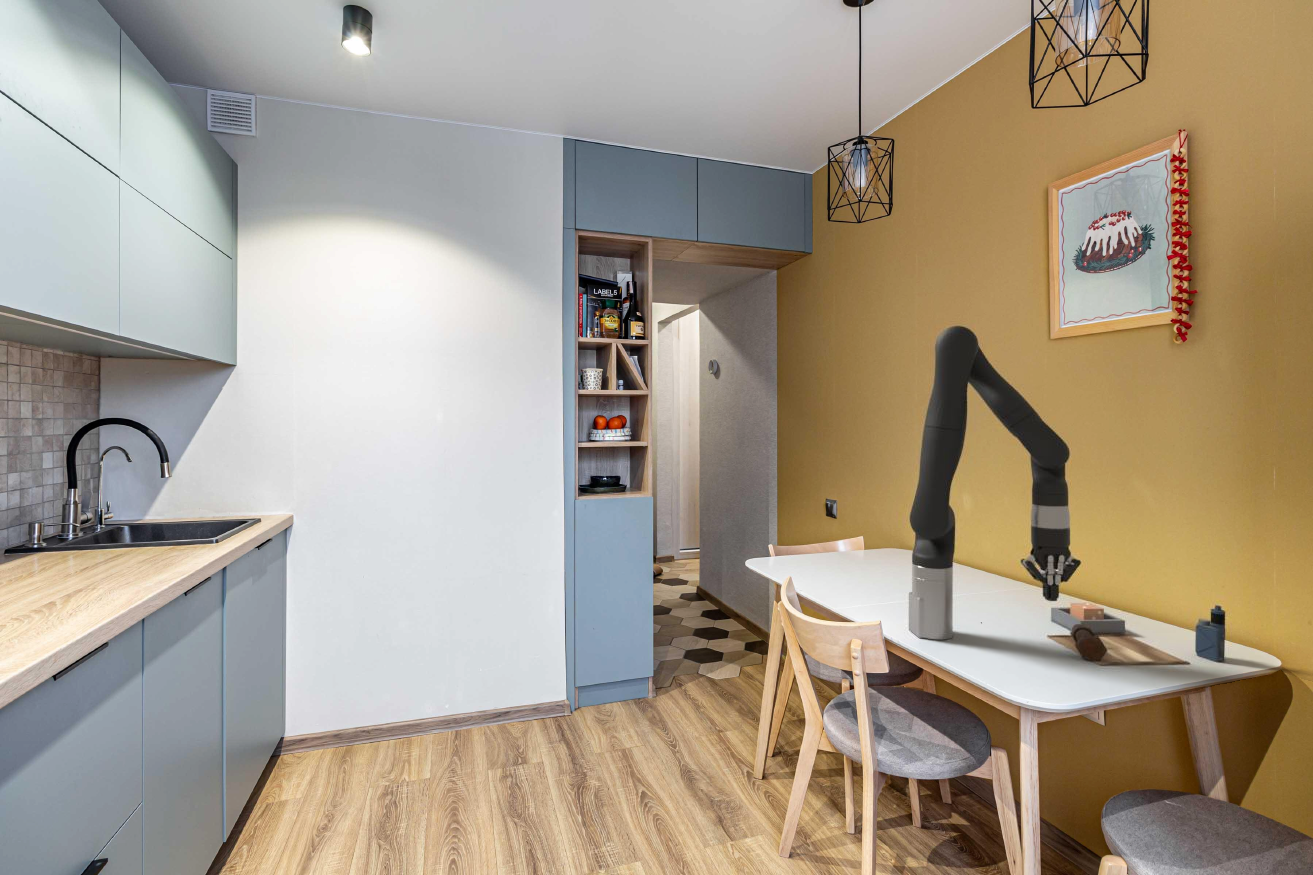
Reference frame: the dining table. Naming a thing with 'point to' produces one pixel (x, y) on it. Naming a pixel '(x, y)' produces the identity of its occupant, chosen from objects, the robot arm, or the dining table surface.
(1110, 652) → the board
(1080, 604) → the die
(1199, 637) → the vaping device
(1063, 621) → the tray
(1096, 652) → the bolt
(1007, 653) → the dining table surface
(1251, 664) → the dining table surface
